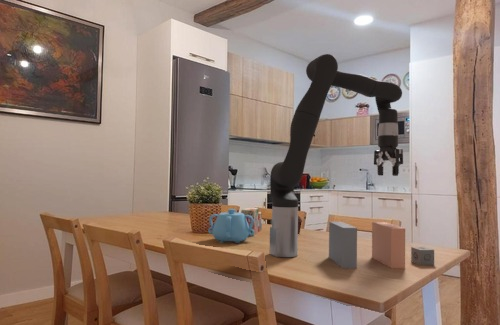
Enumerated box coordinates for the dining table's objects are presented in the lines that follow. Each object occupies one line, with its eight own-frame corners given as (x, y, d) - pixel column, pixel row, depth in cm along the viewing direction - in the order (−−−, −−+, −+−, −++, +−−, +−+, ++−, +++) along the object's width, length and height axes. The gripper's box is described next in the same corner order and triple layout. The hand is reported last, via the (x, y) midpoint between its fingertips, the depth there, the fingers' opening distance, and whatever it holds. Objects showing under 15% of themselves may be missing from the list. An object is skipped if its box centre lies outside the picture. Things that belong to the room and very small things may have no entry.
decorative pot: (238, 236, 168) (238, 206, 168) (257, 242, 154) (257, 209, 155) (205, 239, 159) (206, 208, 160) (222, 245, 145) (223, 211, 146)
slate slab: (356, 268, 114) (357, 228, 114) (342, 268, 113) (342, 227, 114) (341, 257, 129) (341, 221, 129) (328, 257, 128) (329, 221, 129)
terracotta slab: (405, 268, 115) (405, 228, 115) (391, 268, 115) (391, 228, 115) (384, 257, 130) (384, 222, 130) (371, 257, 130) (372, 222, 130)
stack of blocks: (249, 229, 191) (250, 205, 191) (261, 230, 190) (262, 206, 190) (240, 236, 170) (241, 209, 170) (253, 236, 169) (254, 209, 169)
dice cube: (424, 261, 125) (424, 246, 125) (434, 265, 120) (434, 249, 120) (411, 261, 124) (411, 247, 124) (420, 265, 119) (420, 250, 119)
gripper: (368, 136, 152) (368, 175, 152) (392, 132, 139) (392, 175, 138) (383, 137, 155) (383, 175, 154) (408, 134, 141) (408, 176, 141)
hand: (387, 175), depth 146 cm, fingers open, 8 cm apart
